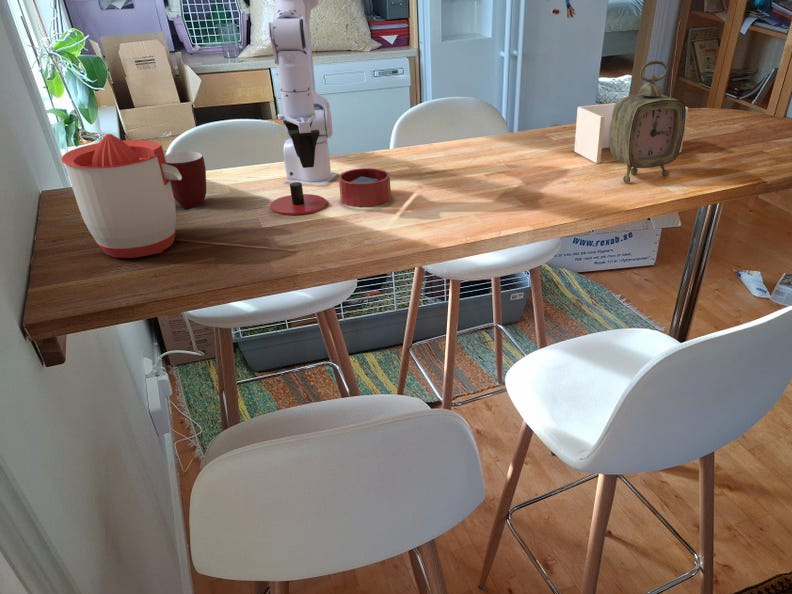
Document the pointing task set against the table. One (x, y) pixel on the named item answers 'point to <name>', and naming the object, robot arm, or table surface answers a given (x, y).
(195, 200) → the mug
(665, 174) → the tabletop clock
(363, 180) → the block
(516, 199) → the table surface
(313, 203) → the tin lid
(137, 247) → the citrus juicer
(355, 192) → the tin
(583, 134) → the storage container
